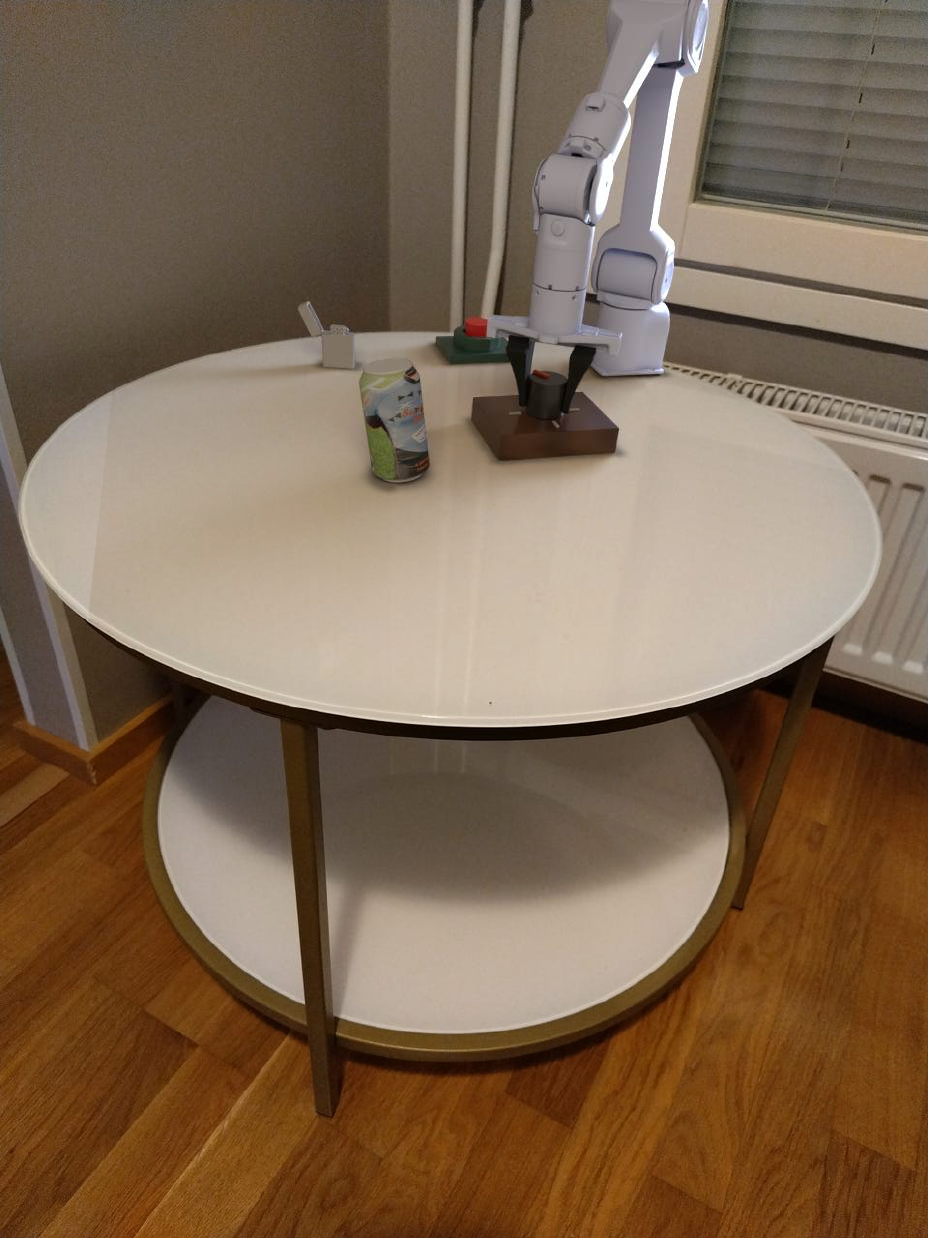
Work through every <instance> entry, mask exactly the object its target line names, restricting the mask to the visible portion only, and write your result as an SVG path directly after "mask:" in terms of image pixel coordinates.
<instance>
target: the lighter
mask: <svg viewBox="0 0 928 1238" xmlns="http://www.w3.org/2000/svg"><path fill="white" fill-rule="evenodd" d="M297 310H298V312H299V314H300V316H301V319H302V320H303V322H304V324H305V326H306V328H307V330H308V332H309V334H310V335H311V338H315V337H319V336H320V335H321V353H322V354H321V355H322V367H324V368H333V369H334V368H335V369H336V368H337V369H350V370H353V369H354V368H355V366H356V334H355V332H351V331H350V330H349V328H348V327H347V326H346V325H344V324H333V323H332V324H331V325H330V326H329V330H325V329H324V328H323V326H322V324H321V321H320V319H319V318H318V315H317V313H316V311H315V310H314V307H313V306H312V303H311V302H310V301H309V300H307V301H305V302H302V303H300V304H299V305H298V306H297Z"/></svg>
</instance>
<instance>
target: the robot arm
mask: <svg viewBox="0 0 928 1238" xmlns="http://www.w3.org/2000/svg"><path fill="white" fill-rule="evenodd" d="M709 1H710V0H609V4H608V7H607V11H606V12H607V13H606V21H605V39H606V44H607V53H608V55H607V59H606V61H605V64H604V67H603V69H602V73H601V75H600V79H599V81H598V85H597V87H596V90H595V91H594V92H591V93H587V95H585V96H583V97H582V98H581V100H580V101H579V103H578V105H577V107H576V109H575V111H574V113H573V115H572V118H571V120H570V121H569V125H568V127H567V129H566V130H565V133H564V135H563V137H562V139H561V141H560V143H559V146H558V148H557V150H556V152H555V153H552V154H550V155H549V157H548V158H547V157H546V158H543V159H542V160H541V162H540V163H539V165H538V167H537V169H536V172H535V176H534V181H533V186H532V190H531V205H532V210H533V226H532V228H533V234H534V235H535V236H536V247H535V258H534V266H533V274H532V284H531V294H530V295H531V296H530V304H529V312H528V313H529V314H528V316H517V315H516V316H514V315H513V316H512V315H498V314H491V315H490V316H489V317H488V318H487V320H488V322H487V335H486V337H491V338H496V337H497V336H498V337H504V338H505V339H507V341H508V344H507V346H506V354H507V357H508V359H509V361H508V362H509V363H510V366H511V369H512V372H513V375H514V378H515V383H516V387H517V395H518V396H519V406H521V407H525V406H526V399H527V390H528V380H529V375H530V374H531V373H532V364H533V357H534V352H535V345H536V343H540V344H545V345H546V344H547V345H553V346H559V347H565V348H566V347H567V348H573V350H572V351H571V353H570V355H569V357H568V358H569V359H568V371H567V379H568V381H567V389H566V393H565V398H564V403H563V409H562V413H564V414H568V413H569V411H570V409H571V405H572V401H573V397H574V395H575V392H577V390H578V387H579V385H580V383H581V381H582V380H583V378H584V376H585V375H586V373H587V371H588V370H589V368H590V367H591V368H592V369H593V370H594V371H595V372H597V373H598V374H599V375H600V376H601V377H614V376H615V377H616V376H637V375H662V374H664V371H665V370H664V369H663V368H662V367H663V361H664V358H665V352H666V347H667V344H668V343H667V342H668V336H669V332H670V324H671V319H670V318H671V316H670V310H669V308H668V306H667V305H666V303H665V302H664V301H665V300H666V298H667V296H668V294H669V291H670V287H671V285H672V280H673V276H674V267H675V263H674V259H675V251H676V247H675V242H674V240H673V239H672V238H671V237H670V236H669V235H668V233H666V232H665V230H663V228H662V227H661V226H660V225H659V224H658V220H659V214H660V209H661V202H662V195H663V190H664V183H665V178H666V170H667V165H668V159H669V158H668V157H669V152H670V148H671V147H670V145H671V140H672V134H673V128H674V121H675V116H676V111H677V102H678V97H679V93H680V89H681V87H682V83H683V80H684V78H686V77H688V76H691V75H694V74H697V73H698V70H699V66H700V64H701V61H702V57H703V52H704V46H705V40H706V34H707V29H708V25H709V18H710V2H709ZM635 96H636V101H635V106H634V107H635V108H634V115H633V122H631V120H632V119H631V114H630V111H629V107H630V105H631V104H632V102H633V100H634V98H635ZM631 123H632V129H631ZM630 129H631V138H630V144H629V150H628V157H627V165H626V174H625V179H624V180H625V181H624V188H623V194H622V203H621V210H620V217H619V222H618V223H617V224H615V225H614V226H612V227H610V228H609V229H607V230H605V231H604V232H603V234H602V235H601V236H600V238H599V240H598V242H597V245H596V251H595V255H594V258H593V262H592V265H591V260H592V259H591V258H592V252H593V247H594V245H593V244H594V240H595V239H594V238H595V231H596V224H598V223H599V221H600V220H601V218H602V216H603V214H604V212H605V210H606V206H607V204H608V199H609V193H610V190H611V186H612V183H613V179H614V169H613V168H614V165H615V162H616V160H617V159H618V156H619V154H620V151H621V149H622V147H623V145H624V142H625V140H626V138H627V136H628V134H629V131H630ZM590 267H591V270H590ZM589 272H590V287H591V288H592V291H593V293H595V294H597V295H596V301H599V308H598V315H597V320H596V326H591V325H589V324H584V323H583V316H584V309H585V302H586V295H587V289H588V288H587V287H588V281H589Z"/></svg>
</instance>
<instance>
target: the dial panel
mask: <svg viewBox="0 0 928 1238" xmlns="http://www.w3.org/2000/svg"><path fill="white" fill-rule="evenodd" d="M525 408H526V406H525V407H521V406H519V396H518V394H507V395H487V396H485V395H484V396H472V404H471V417H470V419H471V420H470V421H471V423H472V424H473V425H474V427H475V428H476V430H477V431H478V433H479V434H480V436H481V438H483V440H484V441H485V443H486V444H487V446H488V447H489V449H490V450H491V451H492V453H493V454H494V456H495V457H496V459H497V461H500V462H501V461H503V462H504V461H515V460H528V459H529V460H530V459H544V458H557V457H559V458H560V457H573V456H585V455H598V454H599V455H601V454H602V455H603V454H615V453H616V449H617V444H618V439H619V433H620V427H619V426H617V424H615V423H614V422H613V420H612V419H611V418H609V416H607V414H606V413H604V411H603V410H602V409H601V408H600V407H598V406H597V404H595V402H594V401H593V400H591V398H589V397H588V396H587V394H585V392H584V391H576V392H575V395H574V397H573V401H572V405H571V409H570V411H569V413H568V414H564V413H563V415H562V416H561V417H559V418H556V419H540V418H536V417H533V416H531V415H529V414H527V412H526V410H525Z"/></svg>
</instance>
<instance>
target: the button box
mask: <svg viewBox="0 0 928 1238" xmlns="http://www.w3.org/2000/svg"><path fill="white" fill-rule="evenodd" d="M507 344H508V339H507V338H505V337H498V336H497V337H496V338H491V337H477V336H470V335H467V334H465V324H463V325H459V326H456V327H455V329H454V330H453V335H436V336H435V346H436V347H437V348H438V350H439V352H440V353H441V354H442V355H443V357H444V358H445V359H446V360H447V362H448V363H449V364H450V365H453V364H455V365H456V364H476V363H477V364H479V363H480V364H481V363H504V362H510V361H509V359H508V357H507V354H506V346H507Z"/></svg>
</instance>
